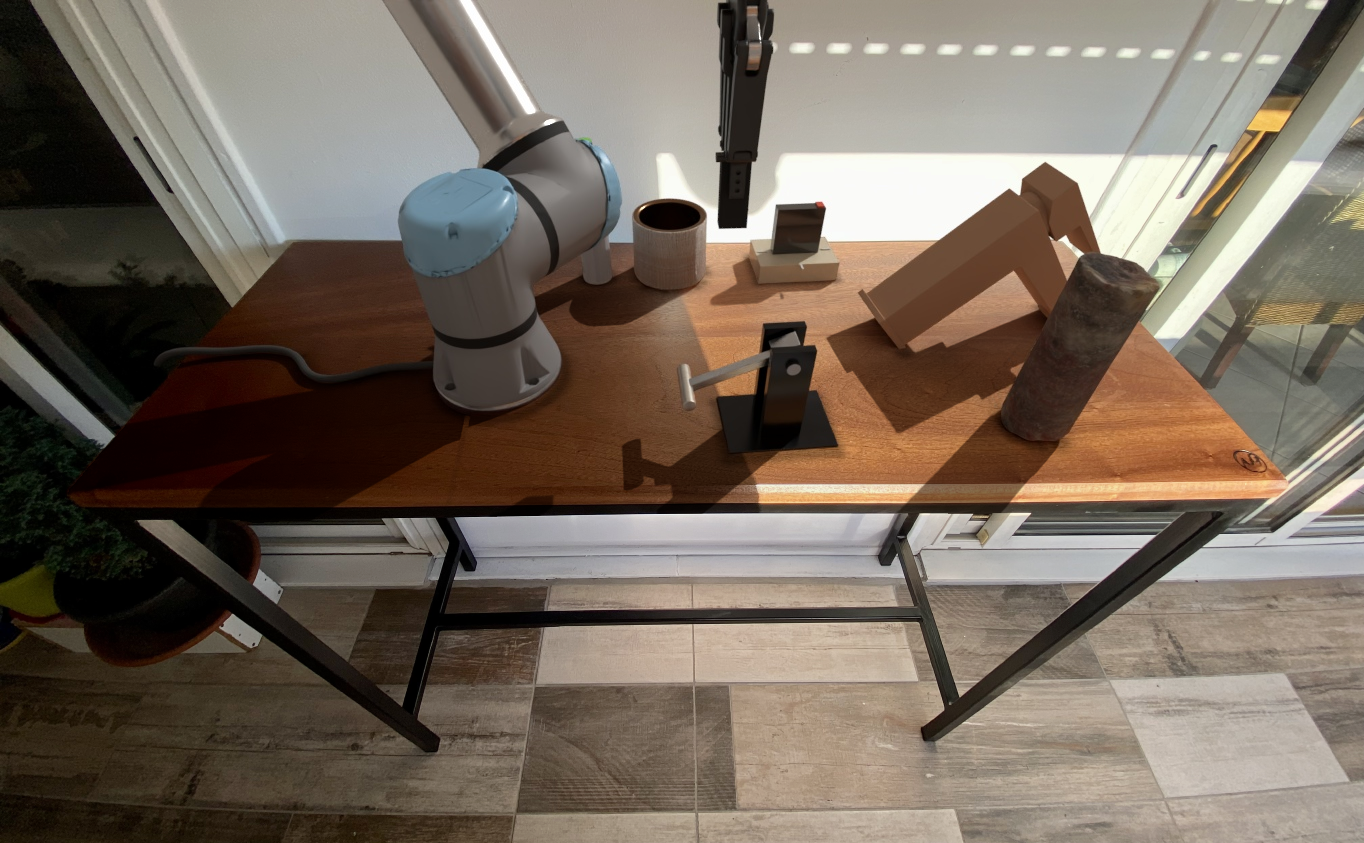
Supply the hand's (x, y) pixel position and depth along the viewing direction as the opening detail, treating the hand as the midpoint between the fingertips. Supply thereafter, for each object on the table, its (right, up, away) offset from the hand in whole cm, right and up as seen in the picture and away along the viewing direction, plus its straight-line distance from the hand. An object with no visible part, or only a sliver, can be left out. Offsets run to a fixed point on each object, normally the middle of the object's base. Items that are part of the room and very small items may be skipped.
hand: (731, 224), depth 58 cm
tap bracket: (+6, -20, +10) cm, 23 cm away
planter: (-7, +3, +34) cm, 34 cm away
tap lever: (+1, -14, +4) cm, 15 cm away
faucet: (+34, -7, +24) cm, 42 cm away
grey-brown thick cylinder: (+36, -19, +11) cm, 42 cm away
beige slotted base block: (+12, +5, +35) cm, 37 cm away
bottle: (-18, +3, +33) cm, 37 cm away
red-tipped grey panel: (+12, +7, +33) cm, 36 cm away
